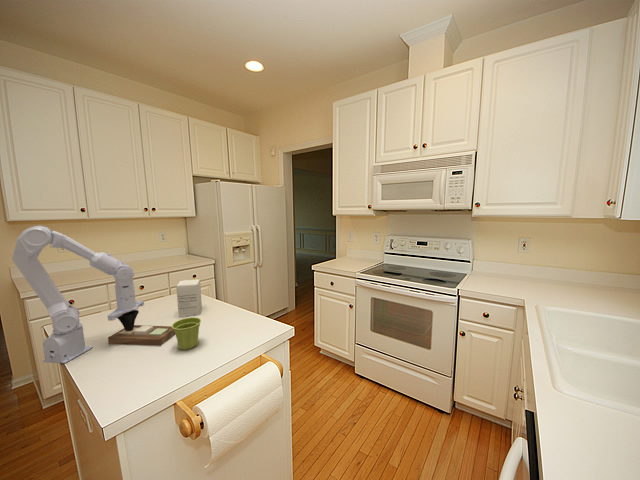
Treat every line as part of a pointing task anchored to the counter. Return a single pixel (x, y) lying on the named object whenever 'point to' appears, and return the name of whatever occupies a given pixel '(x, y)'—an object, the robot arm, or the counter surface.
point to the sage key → (158, 332)
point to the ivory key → (143, 330)
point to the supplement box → (189, 298)
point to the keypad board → (142, 337)
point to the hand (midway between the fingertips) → (129, 330)
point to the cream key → (128, 331)
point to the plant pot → (187, 332)
